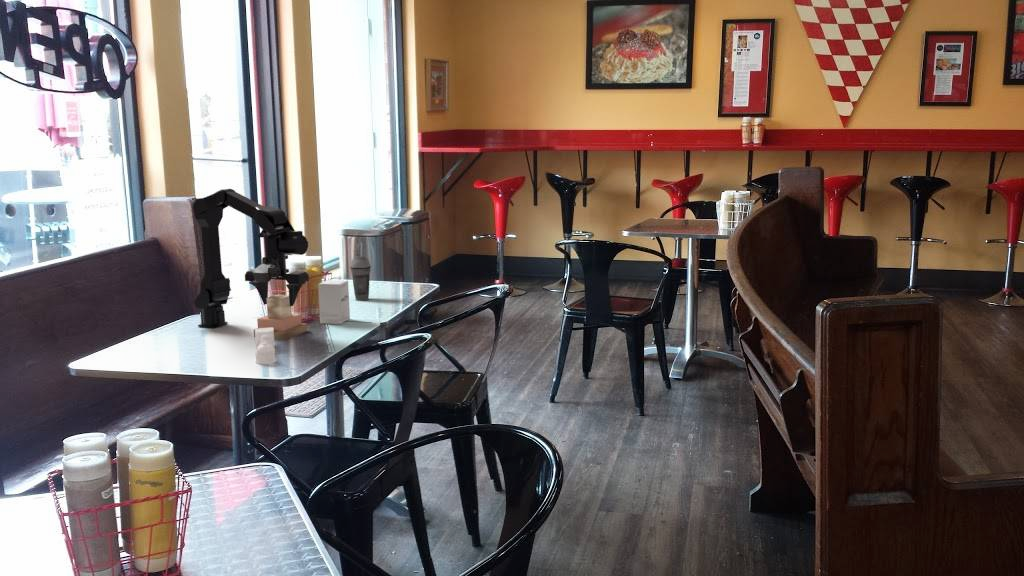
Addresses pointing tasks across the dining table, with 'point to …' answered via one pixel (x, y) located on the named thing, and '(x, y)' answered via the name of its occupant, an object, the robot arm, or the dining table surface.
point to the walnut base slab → (289, 332)
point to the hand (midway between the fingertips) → (278, 305)
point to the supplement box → (334, 301)
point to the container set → (265, 345)
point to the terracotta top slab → (280, 322)
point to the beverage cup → (360, 276)
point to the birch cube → (278, 306)
